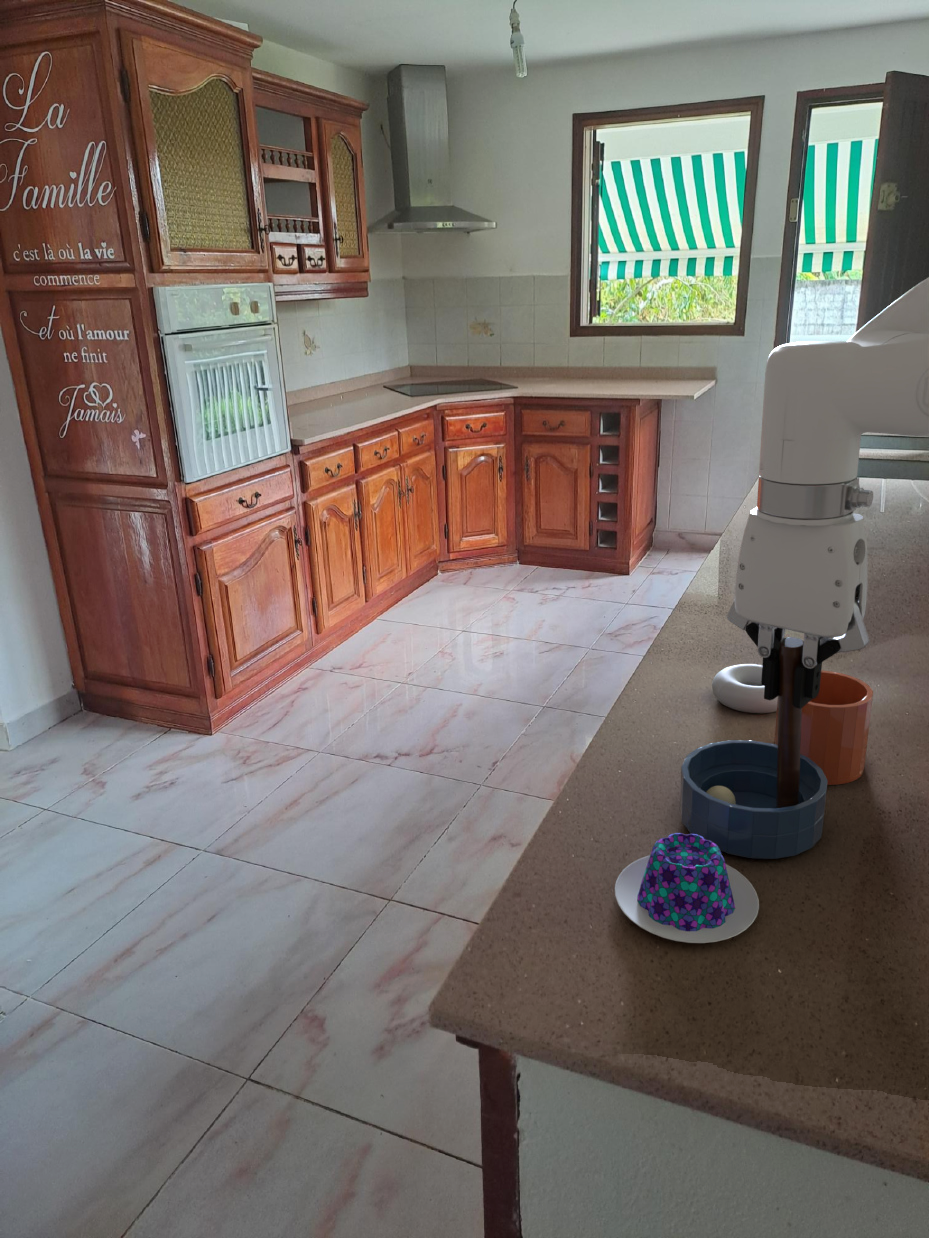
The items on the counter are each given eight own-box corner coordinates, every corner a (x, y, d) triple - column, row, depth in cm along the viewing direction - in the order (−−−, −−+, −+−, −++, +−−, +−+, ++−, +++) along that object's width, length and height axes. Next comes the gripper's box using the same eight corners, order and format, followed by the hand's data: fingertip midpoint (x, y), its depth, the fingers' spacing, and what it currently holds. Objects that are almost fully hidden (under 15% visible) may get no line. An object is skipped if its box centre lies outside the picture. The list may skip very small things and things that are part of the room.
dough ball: (746, 808, 86) (734, 783, 85) (724, 826, 85) (711, 801, 84) (726, 800, 88) (715, 776, 88) (704, 817, 88) (692, 793, 87)
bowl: (843, 816, 86) (849, 767, 84) (785, 882, 77) (789, 829, 75) (720, 773, 95) (722, 727, 93) (654, 828, 86) (655, 779, 84)
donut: (810, 702, 110) (744, 676, 117) (813, 677, 108) (746, 652, 116) (760, 727, 104) (694, 698, 112) (763, 701, 103) (695, 674, 111)
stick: (803, 808, 84) (809, 642, 76) (787, 816, 83) (791, 649, 76) (787, 798, 86) (791, 634, 78) (771, 805, 85) (774, 641, 77)
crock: (876, 758, 96) (886, 683, 93) (843, 794, 90) (852, 715, 87) (794, 734, 102) (801, 663, 99) (758, 766, 96) (763, 691, 93)
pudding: (612, 943, 71) (613, 890, 69) (616, 854, 82) (616, 806, 80) (767, 956, 69) (772, 901, 67) (749, 863, 80) (753, 814, 78)
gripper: (923, 499, 70) (896, 707, 76) (737, 480, 80) (727, 664, 87) (889, 520, 65) (863, 740, 71) (695, 496, 75) (688, 690, 82)
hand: (789, 697), depth 79 cm, fingers closed on stick, 2 cm apart
